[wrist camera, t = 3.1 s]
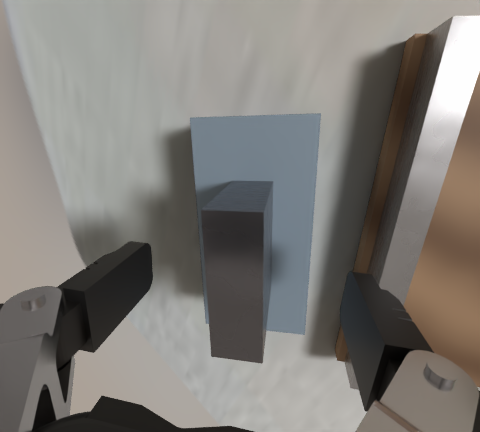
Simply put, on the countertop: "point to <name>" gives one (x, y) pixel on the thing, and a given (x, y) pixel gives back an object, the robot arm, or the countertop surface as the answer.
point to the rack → (431, 195)
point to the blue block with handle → (254, 225)
